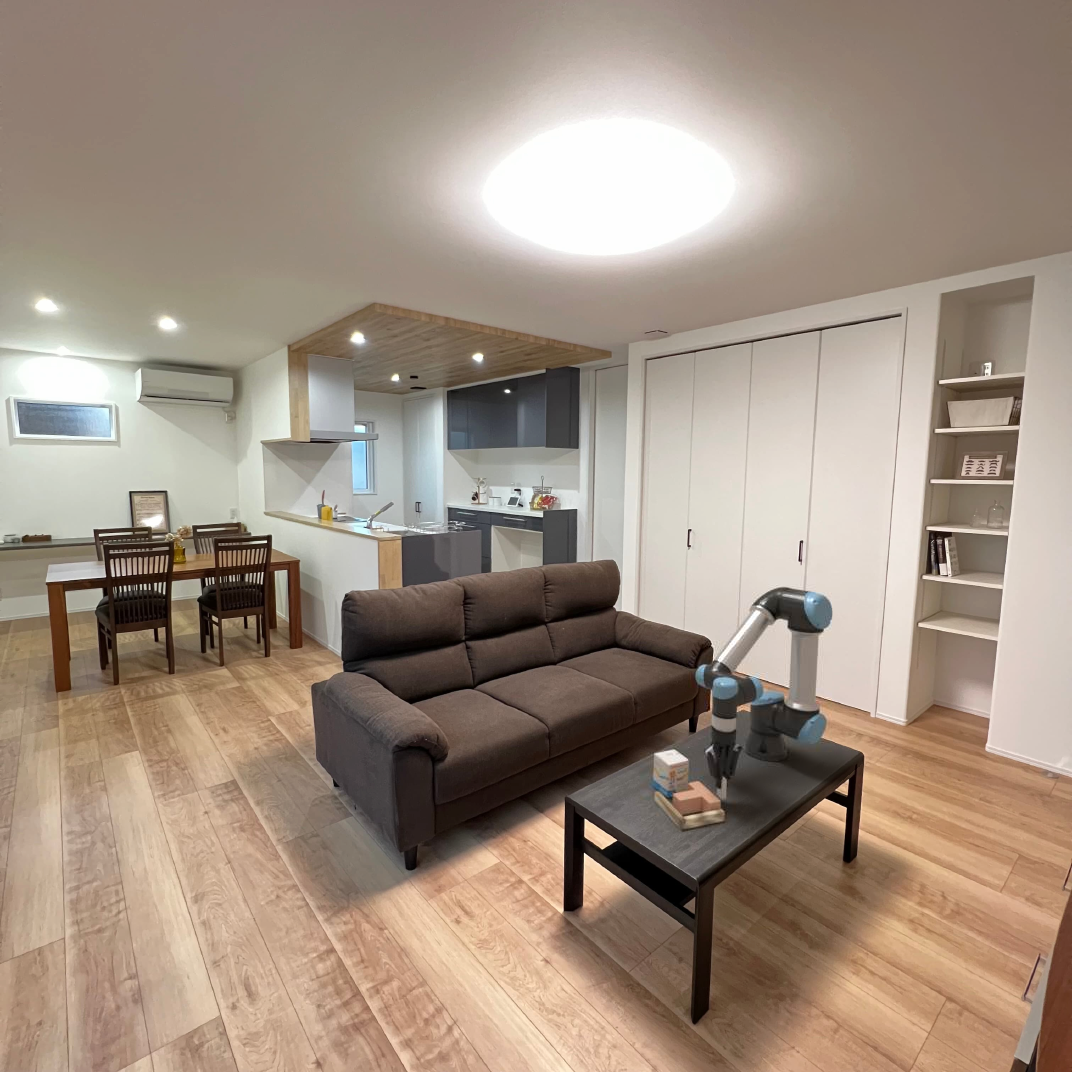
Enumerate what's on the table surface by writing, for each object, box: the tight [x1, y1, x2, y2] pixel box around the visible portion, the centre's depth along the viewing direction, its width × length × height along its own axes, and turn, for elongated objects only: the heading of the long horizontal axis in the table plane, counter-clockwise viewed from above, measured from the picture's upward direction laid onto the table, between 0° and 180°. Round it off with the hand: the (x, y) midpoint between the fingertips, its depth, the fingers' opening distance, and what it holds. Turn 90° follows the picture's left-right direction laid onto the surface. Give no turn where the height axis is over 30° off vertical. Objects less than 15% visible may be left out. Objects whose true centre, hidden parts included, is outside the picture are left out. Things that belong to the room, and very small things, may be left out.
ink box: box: [652, 749, 690, 799], centre depth 191 cm, size 9×8×12 cm
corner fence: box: [654, 790, 726, 831], centre depth 180 cm, size 15×16×3 cm
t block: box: [672, 780, 722, 816], centre depth 181 cm, size 12×12×5 cm
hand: (721, 796), depth 184 cm, fingers closed
